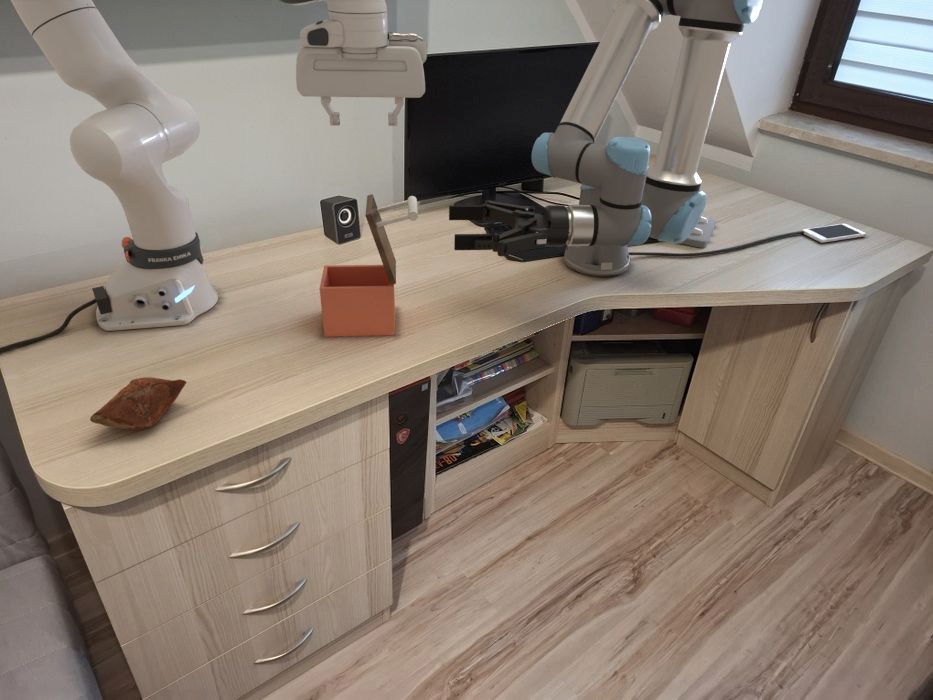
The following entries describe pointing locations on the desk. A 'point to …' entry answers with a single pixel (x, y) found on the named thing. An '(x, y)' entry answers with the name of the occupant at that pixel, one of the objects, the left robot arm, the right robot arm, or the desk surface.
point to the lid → (380, 233)
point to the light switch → (700, 233)
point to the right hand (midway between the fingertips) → (451, 226)
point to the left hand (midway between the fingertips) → (364, 124)
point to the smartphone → (833, 233)
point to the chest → (357, 301)
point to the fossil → (139, 403)
